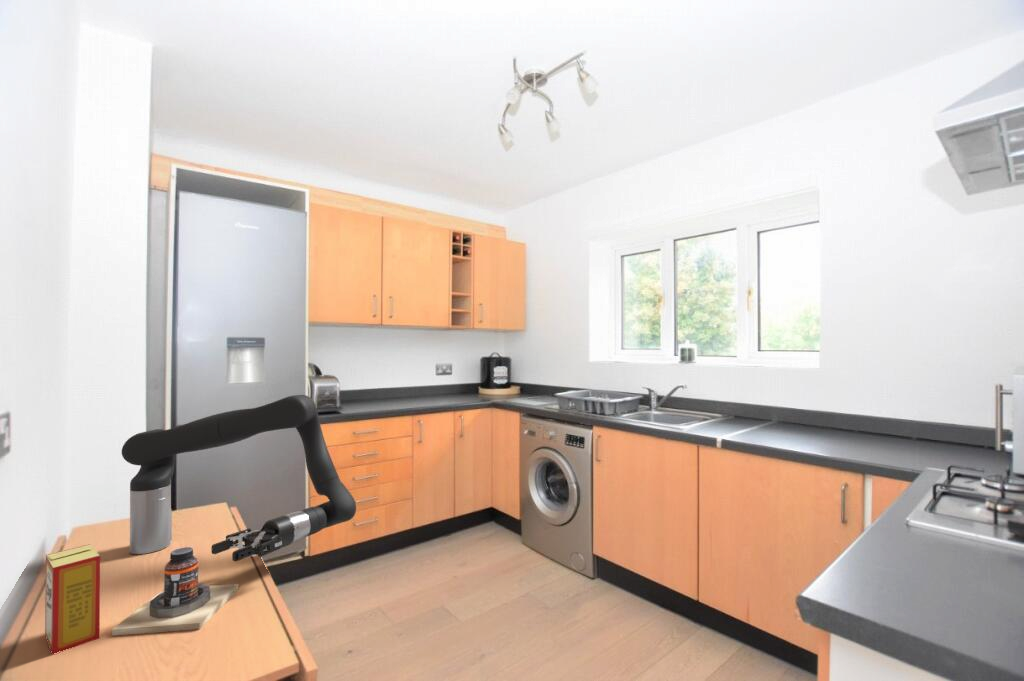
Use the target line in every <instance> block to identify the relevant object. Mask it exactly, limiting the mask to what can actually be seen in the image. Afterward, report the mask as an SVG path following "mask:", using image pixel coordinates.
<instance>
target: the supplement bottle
mask: <svg viewBox="0 0 1024 681" xmlns="http://www.w3.org/2000/svg"><path fill="white" fill-rule="evenodd" d="M169 555H170V558H169V561H168V562H167V563H166V564H165V566H164V575H163V576H164V580H163V581H164V582H163V583H164V584H163V585H164V586H163V587H164V588H163V590H164V606H175V605H179V604H183V603H186V602H189V601H191V600H193V599H195V598H198V589H199V588H198V584H199V560H198V558H197V556H194V548H193V547H190V546H186V547H179V548H177V549H174V550H172V551H171V552H170V554H169Z"/></svg>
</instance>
